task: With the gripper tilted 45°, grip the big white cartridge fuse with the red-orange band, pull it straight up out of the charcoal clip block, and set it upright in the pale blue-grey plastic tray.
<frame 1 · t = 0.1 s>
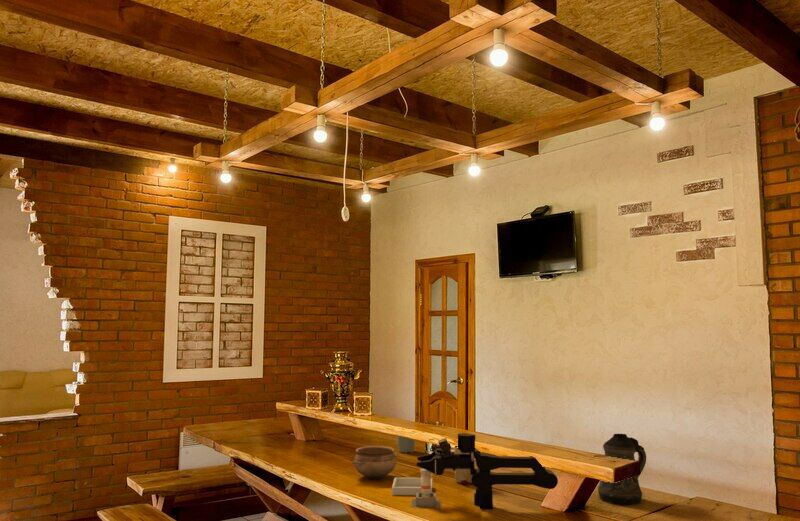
hand: (417, 461, 239), 17 cm above the table, tool horizontal, fingers open, 9 cm apart
cooking pot: (375, 478, 281), on the table
black jug: (621, 499, 246), on the table
fuse: (426, 503, 238), point 1 cm above the table, touching fuse block
tray: (412, 492, 257), on the table
food model: (465, 483, 270), on the table
fuse block: (426, 505, 237), on the table
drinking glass: (406, 451, 337), on the table
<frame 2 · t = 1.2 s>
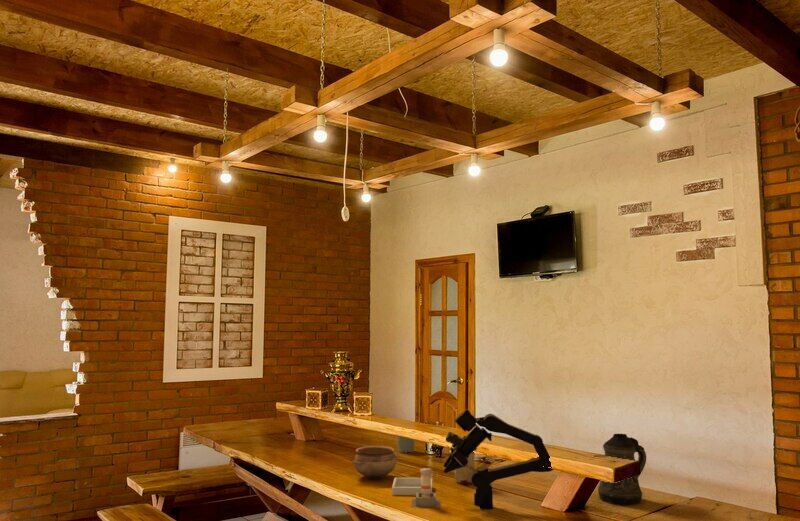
hand: (444, 469, 238), 14 cm above the table, tool tilted 45°, fingers open, 9 cm apart
nothing on the table moved.
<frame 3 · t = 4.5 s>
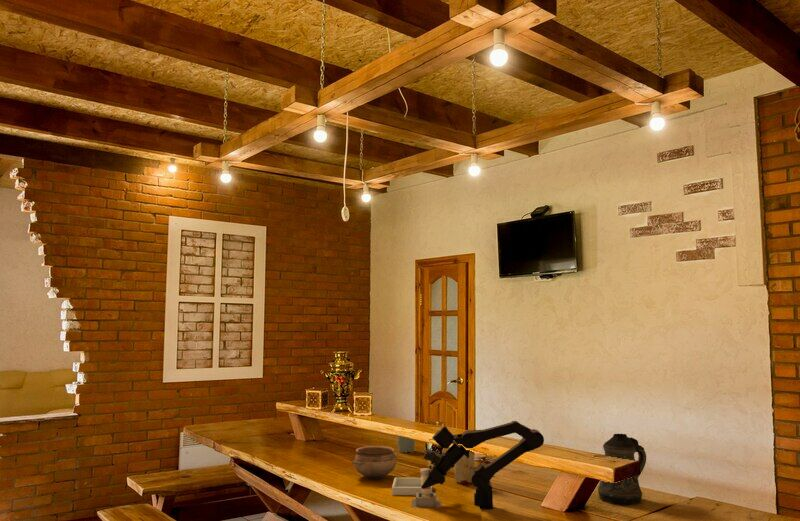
hand: (422, 486, 238), 7 cm above the table, tool tilted 45°, fingers closed on fuse, 4 cm apart
fuse: (426, 503, 238), point 1 cm above the table, touching fuse block, gripper
everything else where it was.
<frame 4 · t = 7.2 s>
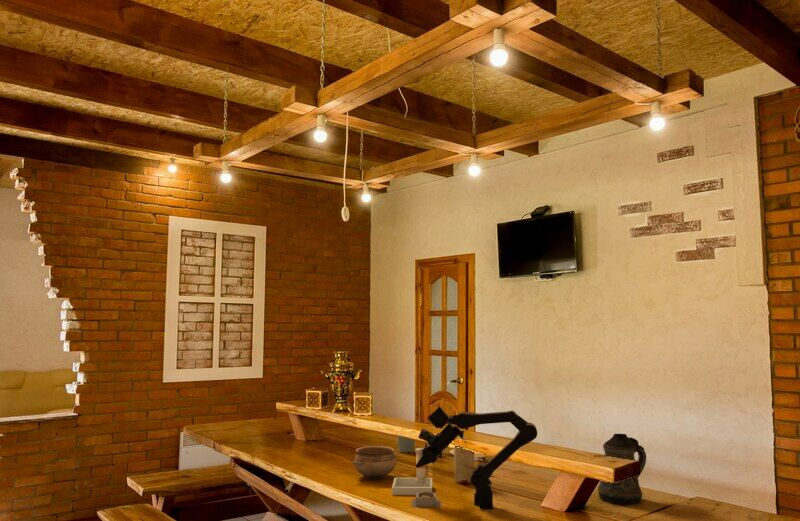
hand: (417, 465, 242), 14 cm above the table, tool tilted 45°, fingers closed on fuse, 4 cm apart
fuse: (420, 482, 241), point 8 cm above the table, touching gripper
everything else where it was.
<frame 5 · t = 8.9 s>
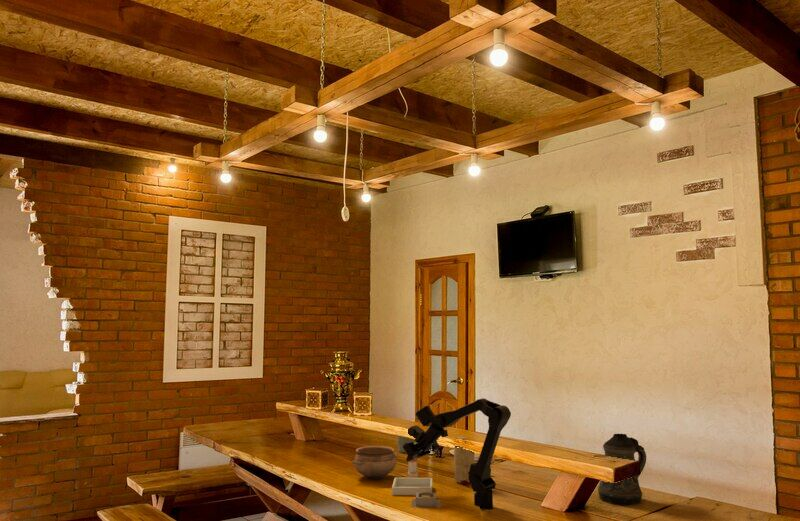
hand: (409, 459, 259), 13 cm above the table, tool tilted 45°, fingers closed on fuse, 4 cm apart
fuse: (412, 475, 257), point 7 cm above the table, touching gripper
everything else where it was.
when the fingers open (9 cm above the table, at t = 9.9 s): fuse drops 2 cm, resting on tray.
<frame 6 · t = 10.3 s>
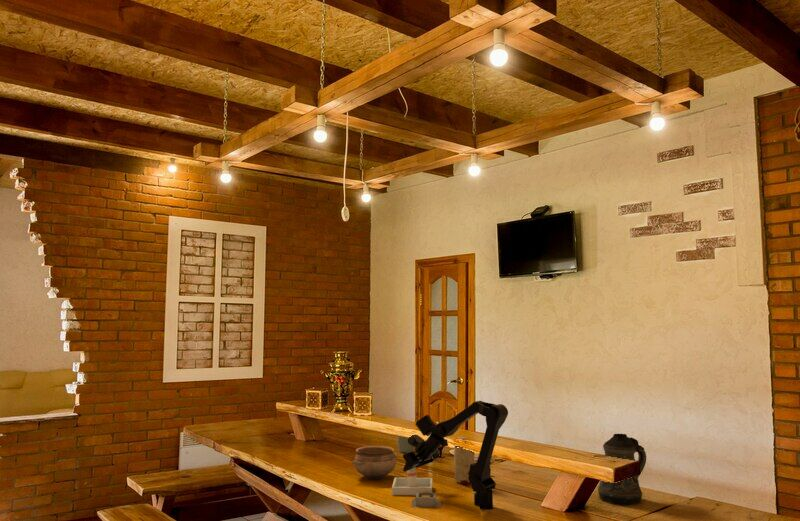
hand: (409, 469, 258), 9 cm above the table, tool tilted 45°, fingers open, 8 cm apart
fuse: (412, 489, 257), point 1 cm above the table, touching tray
everything else where it was.
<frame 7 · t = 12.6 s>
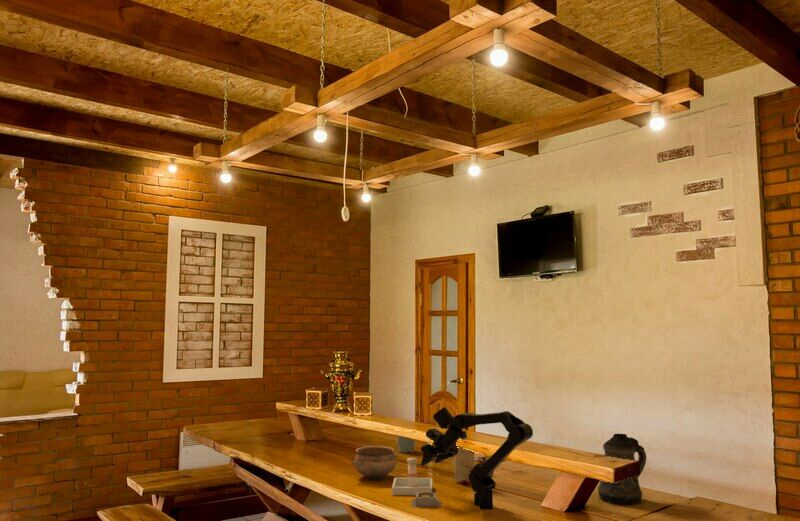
hand: (428, 463, 253), 12 cm above the table, tool tilted 40°, fingers open, 9 cm apart
nothing on the table moved.
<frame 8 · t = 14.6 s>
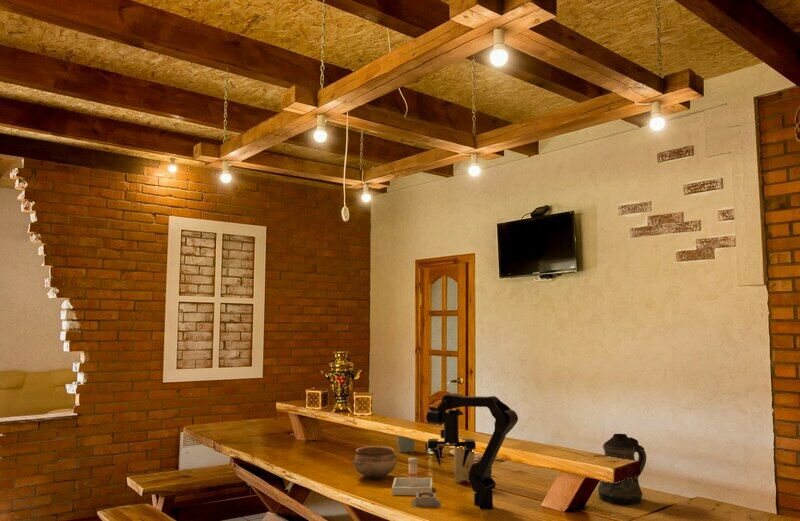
hand: (451, 466, 246), 13 cm above the table, tool pointing down, fingers open, 9 cm apart
nothing on the table moved.
at the end: fuse inside the target area on the tray (0.0 cm from its centre), point 0.9 cm above the tray's base; fuse tilted 2°; the gripper is holding nothing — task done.
